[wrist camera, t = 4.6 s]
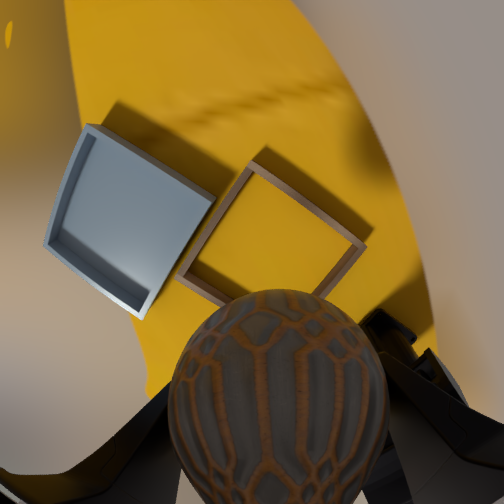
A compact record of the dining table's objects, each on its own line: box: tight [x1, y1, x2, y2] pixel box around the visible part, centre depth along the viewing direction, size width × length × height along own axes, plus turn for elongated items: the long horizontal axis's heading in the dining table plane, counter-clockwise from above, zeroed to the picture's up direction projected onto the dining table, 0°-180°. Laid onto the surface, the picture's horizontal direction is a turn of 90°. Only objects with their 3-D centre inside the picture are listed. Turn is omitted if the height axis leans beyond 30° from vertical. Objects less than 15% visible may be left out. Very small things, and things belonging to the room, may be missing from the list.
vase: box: [168, 289, 390, 504], centre depth 7 cm, size 7×7×9 cm
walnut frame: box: [174, 160, 367, 307], centre depth 20 cm, size 10×10×1 cm
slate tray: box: [43, 123, 217, 320], centre depth 18 cm, size 11×11×2 cm
